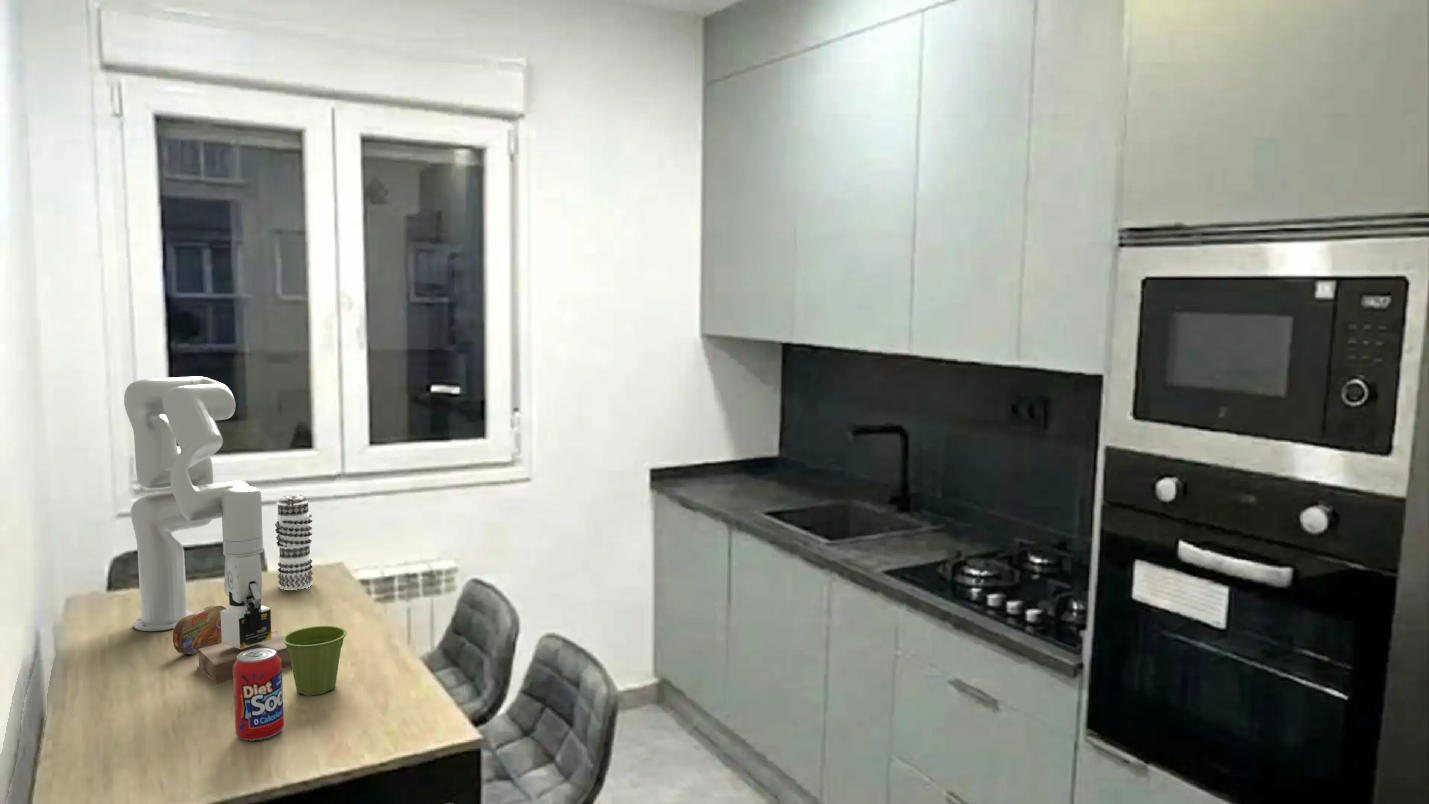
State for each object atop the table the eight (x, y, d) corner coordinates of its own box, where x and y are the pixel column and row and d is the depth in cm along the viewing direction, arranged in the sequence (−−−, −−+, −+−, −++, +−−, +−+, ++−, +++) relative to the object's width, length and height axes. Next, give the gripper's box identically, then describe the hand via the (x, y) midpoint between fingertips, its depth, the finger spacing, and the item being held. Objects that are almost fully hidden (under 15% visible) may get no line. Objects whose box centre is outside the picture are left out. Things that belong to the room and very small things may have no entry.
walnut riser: (198, 666, 196) (197, 648, 196) (277, 648, 208) (276, 631, 207) (216, 683, 188) (215, 664, 188) (297, 663, 199) (296, 645, 199)
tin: (183, 660, 200) (181, 622, 199) (170, 659, 201) (168, 621, 200) (232, 636, 215) (230, 601, 214) (220, 635, 215) (219, 600, 215)
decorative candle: (321, 583, 255) (319, 495, 253) (294, 593, 247) (291, 501, 244) (297, 579, 259) (294, 491, 256) (269, 588, 250) (266, 498, 248)
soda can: (252, 723, 171) (249, 644, 169) (292, 725, 170) (290, 646, 169) (226, 742, 163) (222, 661, 162) (268, 745, 162) (264, 663, 161)
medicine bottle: (240, 650, 192) (238, 594, 191) (221, 643, 196) (218, 588, 195) (272, 639, 198) (270, 585, 197) (252, 633, 202) (250, 579, 201)
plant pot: (357, 689, 186) (356, 635, 185) (297, 706, 178) (295, 650, 177) (334, 672, 195) (332, 620, 193) (275, 688, 186) (273, 634, 185)
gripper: (211, 540, 199) (214, 619, 201) (237, 557, 186) (240, 641, 188) (248, 534, 204) (251, 611, 206) (276, 550, 192) (279, 632, 193)
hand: (246, 625), depth 197 cm, fingers closed on medicine bottle, 8 cm apart
